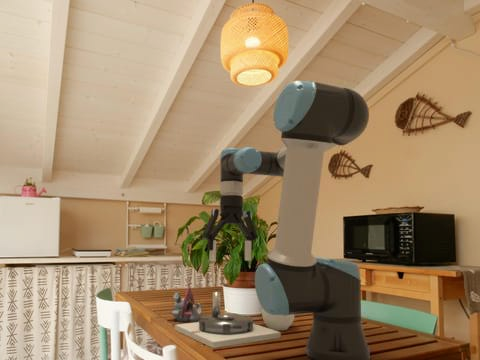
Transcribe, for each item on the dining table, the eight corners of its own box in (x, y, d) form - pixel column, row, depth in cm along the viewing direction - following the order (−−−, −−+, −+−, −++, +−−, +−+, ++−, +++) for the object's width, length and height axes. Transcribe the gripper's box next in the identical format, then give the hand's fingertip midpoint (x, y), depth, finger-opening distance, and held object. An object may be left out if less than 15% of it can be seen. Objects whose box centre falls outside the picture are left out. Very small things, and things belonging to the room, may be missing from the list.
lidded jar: (297, 326, 133) (297, 296, 135) (292, 333, 123) (292, 301, 125) (265, 323, 136) (265, 294, 138) (257, 330, 126) (257, 299, 127)
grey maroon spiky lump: (201, 316, 135) (181, 285, 138) (176, 336, 136) (156, 305, 138) (211, 310, 146) (192, 282, 149) (187, 328, 147) (169, 300, 149)
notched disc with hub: (264, 329, 120) (264, 296, 121) (214, 336, 111) (215, 300, 112) (235, 319, 133) (235, 289, 134) (188, 325, 124) (189, 293, 125)
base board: (280, 337, 118) (280, 331, 118) (213, 348, 106) (213, 341, 106) (235, 322, 138) (235, 317, 138) (174, 329, 126) (174, 324, 126)
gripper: (255, 198, 146) (255, 259, 143) (192, 193, 132) (190, 261, 129) (268, 197, 140) (268, 260, 137) (204, 191, 126) (202, 262, 123)
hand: (230, 261), depth 133 cm, fingers open, 13 cm apart
